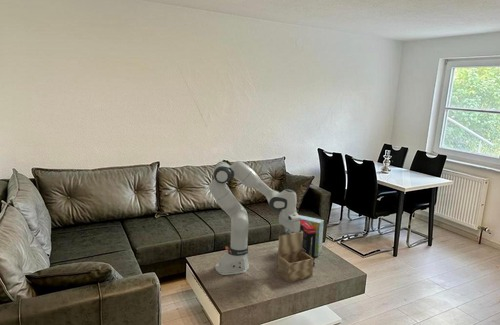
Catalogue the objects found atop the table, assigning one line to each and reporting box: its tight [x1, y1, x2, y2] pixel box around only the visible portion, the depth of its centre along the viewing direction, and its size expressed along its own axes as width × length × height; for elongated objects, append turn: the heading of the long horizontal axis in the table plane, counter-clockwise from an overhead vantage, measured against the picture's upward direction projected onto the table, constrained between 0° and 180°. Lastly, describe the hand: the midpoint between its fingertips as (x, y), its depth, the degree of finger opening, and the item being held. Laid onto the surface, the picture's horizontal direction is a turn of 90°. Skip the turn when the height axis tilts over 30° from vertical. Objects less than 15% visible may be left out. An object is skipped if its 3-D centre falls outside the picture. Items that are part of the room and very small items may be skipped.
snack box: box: [298, 214, 325, 258], centre depth 255 cm, size 22×9×26 cm, turn 58°
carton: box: [277, 250, 315, 283], centre depth 223 cm, size 18×13×12 cm
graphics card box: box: [297, 220, 316, 267], centre depth 240 cm, size 17×7×27 cm, turn 18°
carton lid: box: [277, 231, 303, 256], centre depth 228 cm, size 18×13×5 cm
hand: (288, 234), depth 229 cm, fingers closed
